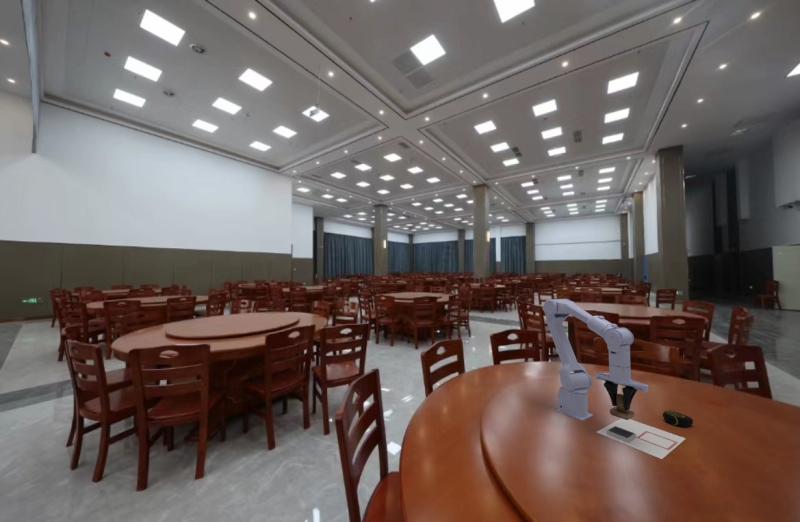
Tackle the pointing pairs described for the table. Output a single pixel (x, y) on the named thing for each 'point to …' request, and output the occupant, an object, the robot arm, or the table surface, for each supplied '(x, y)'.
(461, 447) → the table surface
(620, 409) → the stamp
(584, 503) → the table surface
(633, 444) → the stamping mat
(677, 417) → the tape measure
